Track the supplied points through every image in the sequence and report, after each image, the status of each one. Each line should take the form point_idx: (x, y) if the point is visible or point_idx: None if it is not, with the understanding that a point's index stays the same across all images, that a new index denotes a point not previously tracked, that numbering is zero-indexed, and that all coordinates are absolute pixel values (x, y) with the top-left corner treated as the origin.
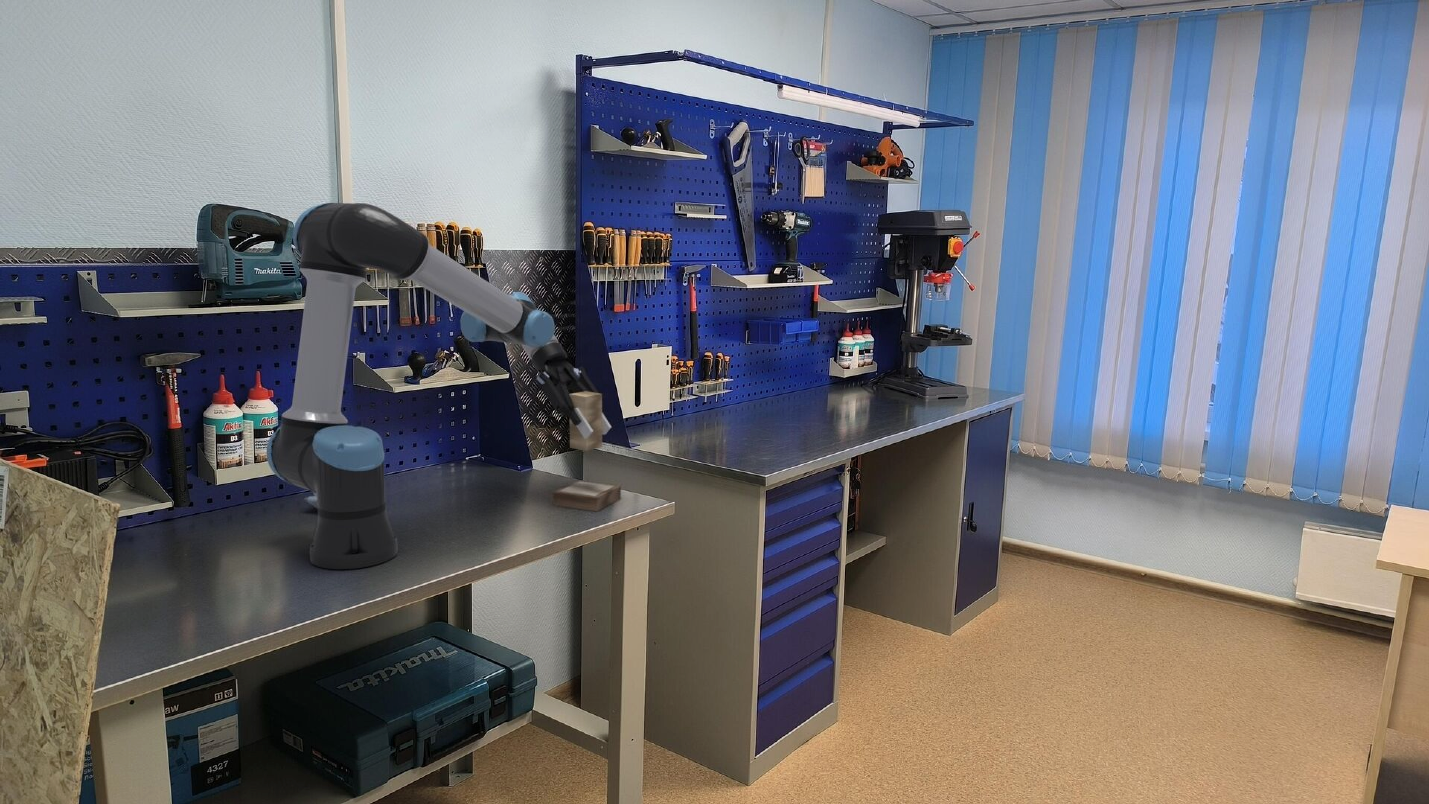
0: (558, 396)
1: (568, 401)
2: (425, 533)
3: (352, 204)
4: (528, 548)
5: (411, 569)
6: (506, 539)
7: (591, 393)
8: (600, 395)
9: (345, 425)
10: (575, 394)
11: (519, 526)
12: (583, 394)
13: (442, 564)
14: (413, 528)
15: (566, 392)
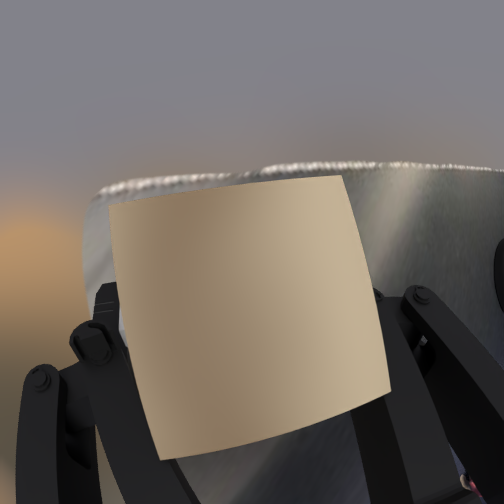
0: (470, 347)
1: (393, 330)
2: (469, 310)
3: None
4: (399, 168)
5: (488, 206)
6: (412, 217)
7: (182, 299)
8: (133, 205)
9: None
10: (361, 344)
11: (381, 258)
12: (296, 298)
13: (471, 196)
14: None
15: (411, 411)
